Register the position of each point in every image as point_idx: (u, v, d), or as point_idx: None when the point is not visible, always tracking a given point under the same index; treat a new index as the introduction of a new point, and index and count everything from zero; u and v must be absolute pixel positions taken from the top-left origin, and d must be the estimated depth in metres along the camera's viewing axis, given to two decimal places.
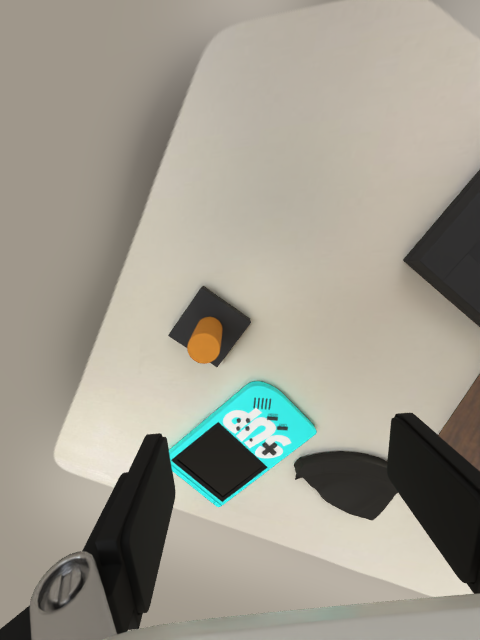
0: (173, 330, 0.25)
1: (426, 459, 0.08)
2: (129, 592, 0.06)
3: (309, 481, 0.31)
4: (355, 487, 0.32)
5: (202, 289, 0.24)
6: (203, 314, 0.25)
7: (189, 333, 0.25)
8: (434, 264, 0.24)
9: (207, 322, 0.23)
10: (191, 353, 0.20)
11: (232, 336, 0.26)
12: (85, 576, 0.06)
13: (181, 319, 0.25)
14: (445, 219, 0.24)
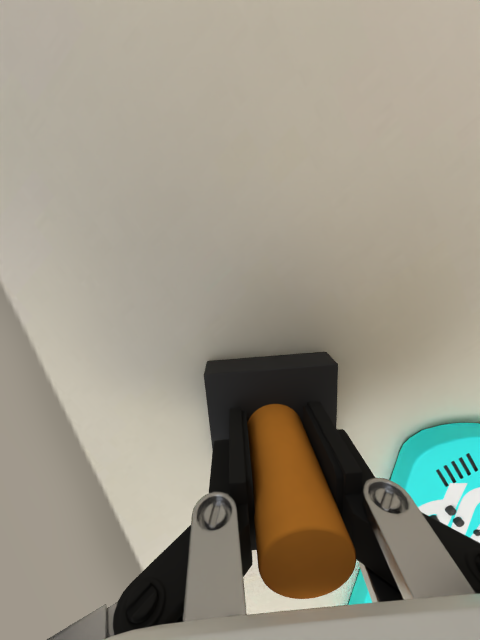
0: None
1: (316, 439, 0.09)
2: (249, 529, 0.08)
3: None
4: None
5: (208, 376, 0.11)
6: None
7: None
8: None
9: (263, 443, 0.09)
10: (288, 592, 0.07)
11: None
12: (225, 509, 0.07)
13: None
14: None
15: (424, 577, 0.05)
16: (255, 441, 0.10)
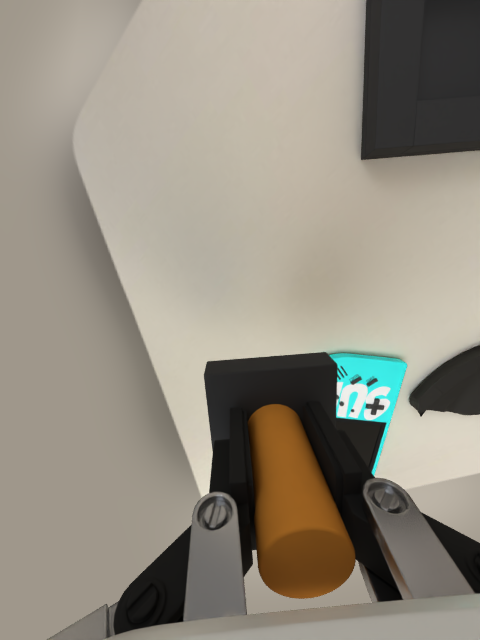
0: None
1: (316, 439, 0.09)
2: (249, 529, 0.08)
3: (436, 409, 0.29)
4: None
5: (208, 376, 0.11)
6: None
7: None
8: (392, 139, 0.21)
9: (263, 444, 0.10)
10: (288, 591, 0.07)
11: None
12: (226, 509, 0.07)
13: None
14: (369, 91, 0.21)
15: (423, 577, 0.05)
16: (255, 441, 0.10)
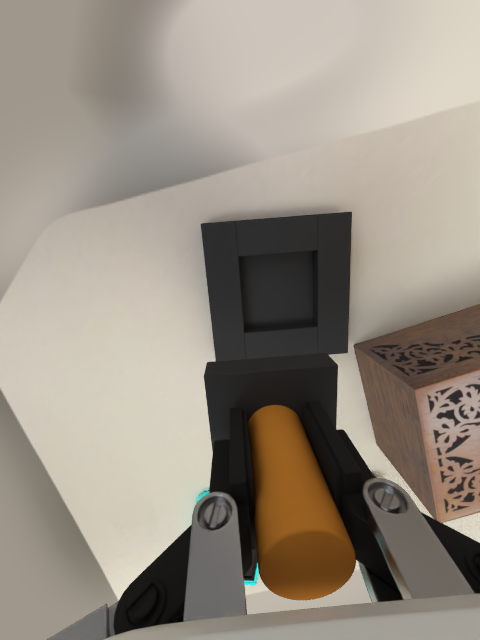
0: None
1: (316, 439, 0.09)
2: (249, 529, 0.08)
3: None
4: None
5: (208, 377, 0.11)
6: None
7: None
8: (229, 358, 0.26)
9: (263, 445, 0.09)
10: (288, 593, 0.07)
11: None
12: (226, 509, 0.07)
13: None
14: None
15: (423, 577, 0.05)
16: (255, 442, 0.10)
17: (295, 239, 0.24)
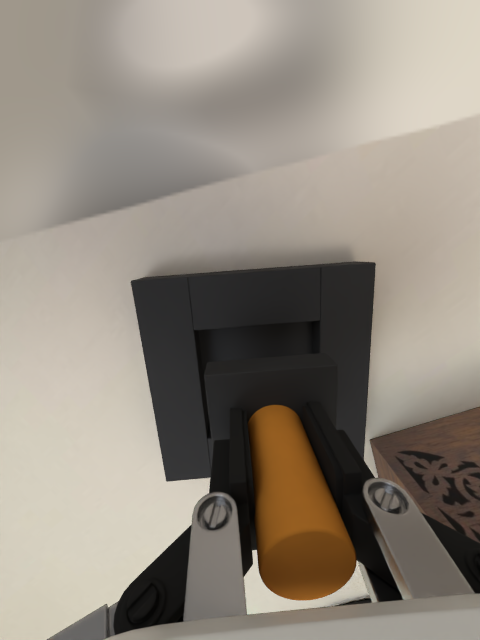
0: None
1: (316, 439, 0.09)
2: (249, 529, 0.08)
3: None
4: None
5: (208, 377, 0.11)
6: None
7: None
8: (185, 473, 0.18)
9: (263, 445, 0.09)
10: (288, 593, 0.07)
11: None
12: (226, 509, 0.07)
13: None
14: None
15: (423, 577, 0.05)
16: (255, 442, 0.10)
17: (284, 304, 0.15)
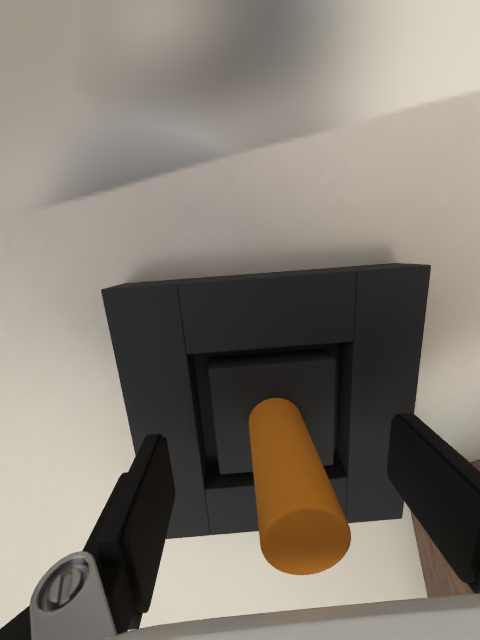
0: (221, 462, 0.13)
1: (426, 459, 0.08)
2: (129, 592, 0.06)
3: None
4: None
5: (212, 371, 0.12)
6: (245, 405, 0.12)
7: (248, 450, 0.13)
8: (176, 530, 0.14)
9: (264, 434, 0.10)
10: (288, 568, 0.07)
11: (320, 404, 0.12)
12: (85, 576, 0.06)
13: (218, 438, 0.13)
14: None
15: None
16: (257, 432, 0.11)
17: (307, 321, 0.11)
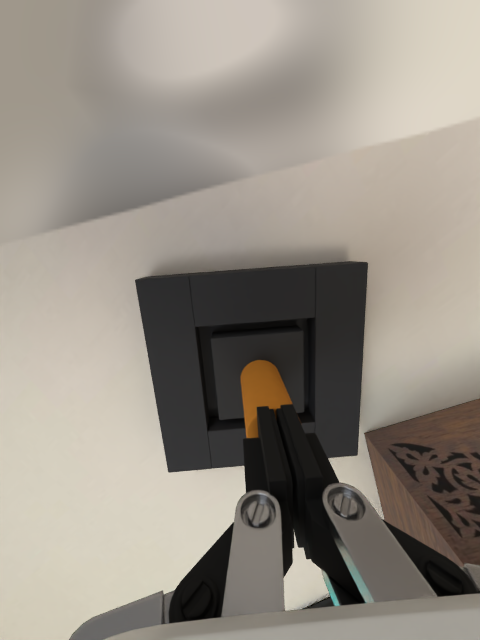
0: (220, 410, 0.17)
1: (285, 443, 0.09)
2: None
3: None
4: None
5: (213, 339, 0.16)
6: (238, 366, 0.17)
7: (240, 400, 0.17)
8: (186, 464, 0.18)
9: (251, 380, 0.14)
10: None
11: (293, 364, 0.17)
12: (267, 507, 0.07)
13: (218, 391, 0.17)
14: None
15: (368, 585, 0.05)
16: (246, 380, 0.15)
17: (281, 302, 0.16)
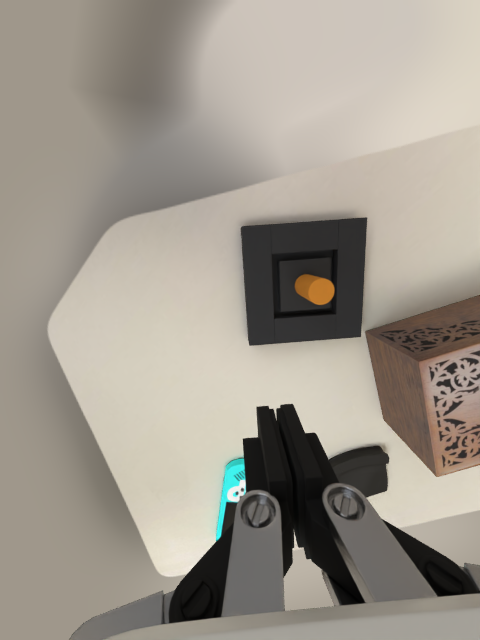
0: (281, 305, 0.30)
1: (285, 443, 0.09)
2: None
3: None
4: (352, 479, 0.39)
5: (281, 262, 0.29)
6: (293, 278, 0.30)
7: (293, 299, 0.30)
8: (260, 340, 0.31)
9: (304, 278, 0.27)
10: (315, 301, 0.25)
11: (324, 277, 0.30)
12: (267, 507, 0.07)
13: (281, 293, 0.30)
14: (246, 307, 0.31)
15: (368, 586, 0.05)
16: (301, 280, 0.28)
17: (319, 240, 0.28)
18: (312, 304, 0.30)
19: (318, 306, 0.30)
